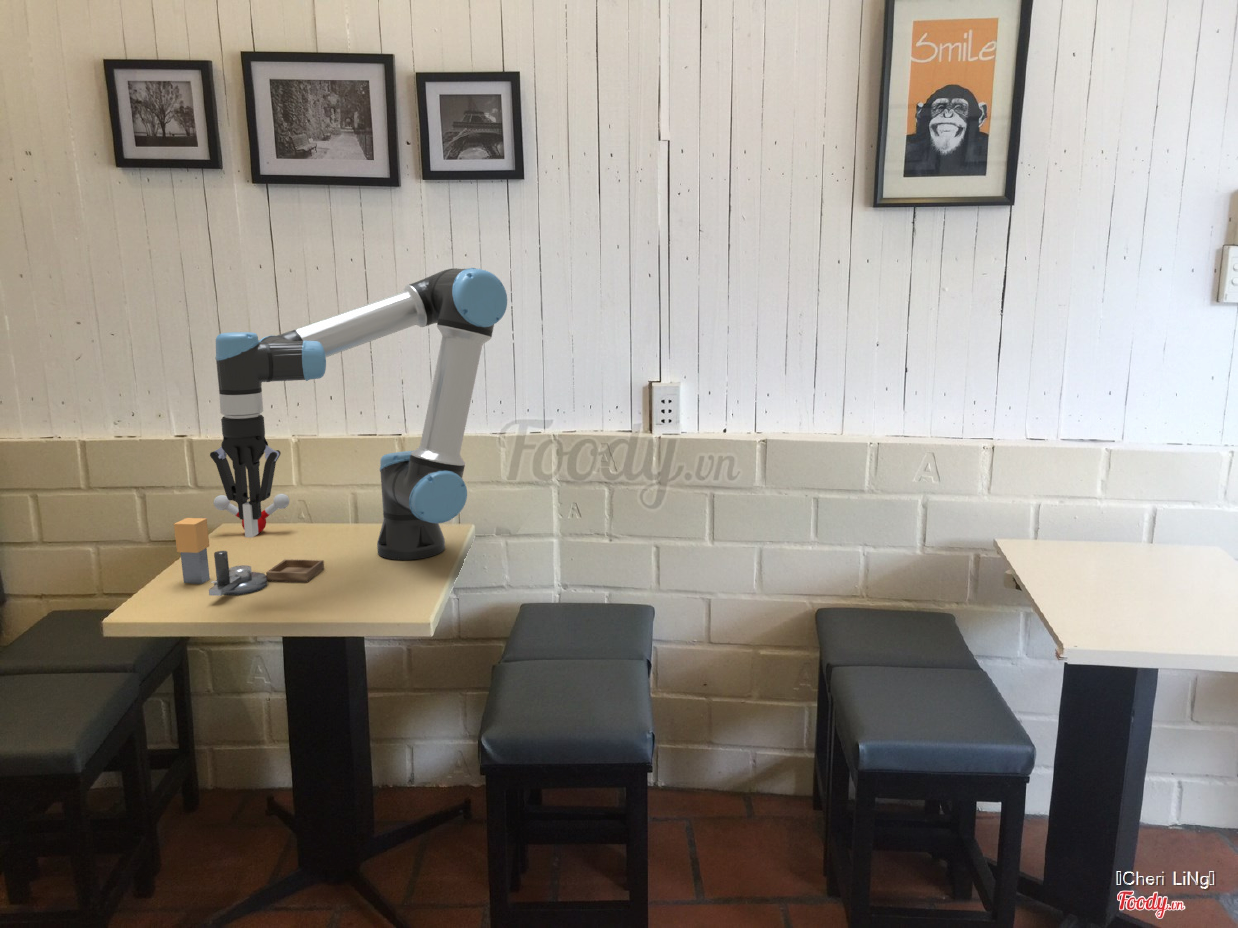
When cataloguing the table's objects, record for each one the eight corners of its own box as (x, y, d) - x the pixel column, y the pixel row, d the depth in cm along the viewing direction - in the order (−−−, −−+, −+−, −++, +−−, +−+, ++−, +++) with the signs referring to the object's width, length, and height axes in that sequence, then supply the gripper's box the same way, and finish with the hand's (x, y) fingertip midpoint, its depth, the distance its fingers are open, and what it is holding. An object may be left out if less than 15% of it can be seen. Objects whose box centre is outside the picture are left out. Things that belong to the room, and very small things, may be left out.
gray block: (209, 579, 196) (206, 547, 195) (202, 583, 194) (198, 551, 192) (191, 578, 197) (188, 546, 195) (183, 583, 194) (180, 551, 192)
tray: (324, 569, 202) (323, 560, 202) (307, 582, 194) (306, 573, 194) (285, 568, 203) (284, 559, 203) (266, 581, 195) (266, 572, 194)
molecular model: (214, 539, 225) (210, 499, 223) (219, 532, 230) (215, 493, 228) (291, 534, 228) (287, 494, 226) (293, 528, 234) (290, 489, 232)
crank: (235, 576, 194) (232, 539, 192) (256, 576, 193) (252, 539, 192) (204, 596, 182) (200, 557, 180) (226, 597, 181) (222, 558, 180)
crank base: (276, 579, 196) (275, 572, 196) (253, 596, 186) (252, 588, 186) (228, 578, 197) (227, 570, 197) (203, 594, 187) (202, 586, 187)
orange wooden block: (209, 546, 196) (206, 518, 194) (197, 552, 191) (194, 524, 190) (189, 545, 196) (186, 517, 195) (177, 552, 192) (173, 523, 190)
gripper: (284, 412, 181) (292, 530, 185) (217, 411, 181) (227, 529, 186) (268, 418, 173) (277, 541, 178) (199, 417, 174) (209, 540, 178)
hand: (251, 535), depth 182 cm, fingers closed
